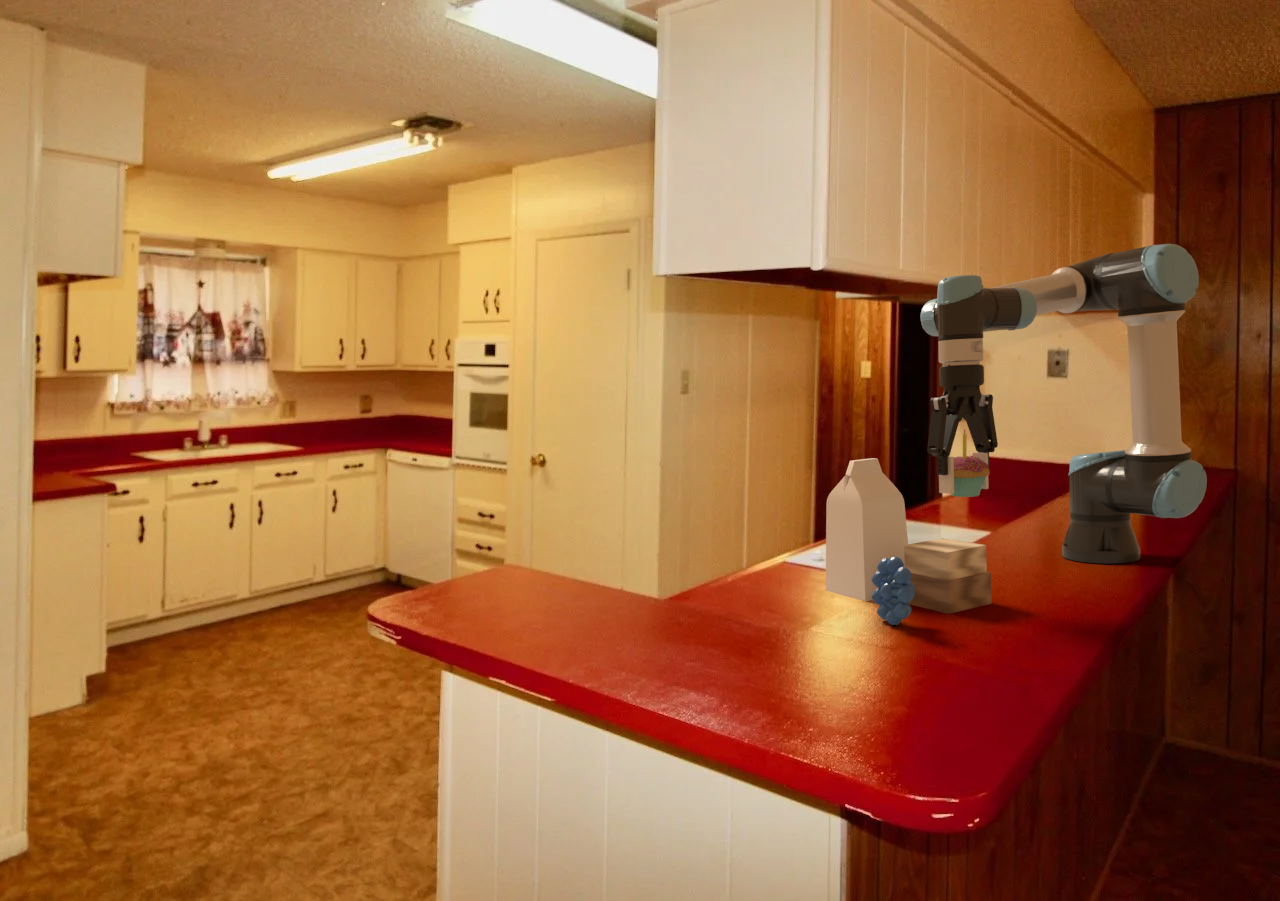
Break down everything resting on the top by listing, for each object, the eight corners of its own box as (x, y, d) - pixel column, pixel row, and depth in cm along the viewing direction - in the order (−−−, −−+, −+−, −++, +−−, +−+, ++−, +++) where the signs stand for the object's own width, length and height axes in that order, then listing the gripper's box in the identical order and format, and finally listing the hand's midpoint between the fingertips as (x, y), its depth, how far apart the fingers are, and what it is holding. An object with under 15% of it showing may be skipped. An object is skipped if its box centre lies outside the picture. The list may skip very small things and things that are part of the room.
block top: (943, 564, 168) (942, 538, 168) (986, 572, 160) (986, 545, 159) (904, 571, 164) (904, 545, 163) (947, 580, 155) (946, 552, 155)
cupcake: (994, 497, 154) (992, 429, 154) (943, 499, 156) (941, 431, 155) (984, 491, 163) (983, 426, 162) (936, 493, 164) (934, 428, 164)
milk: (865, 601, 167) (860, 463, 165) (825, 590, 177) (820, 460, 175) (912, 591, 172) (908, 458, 170) (871, 581, 182) (867, 455, 180)
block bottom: (943, 594, 170) (943, 563, 169) (991, 605, 160) (990, 572, 160) (901, 603, 165) (900, 571, 164) (948, 615, 155) (947, 581, 154)
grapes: (935, 631, 145) (933, 558, 144) (898, 635, 143) (896, 562, 143) (898, 614, 156) (896, 547, 155) (863, 618, 155) (861, 550, 154)
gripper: (936, 364, 149) (939, 498, 151) (1018, 361, 160) (1020, 486, 161) (902, 366, 156) (906, 494, 157) (983, 363, 166) (986, 483, 168)
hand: (964, 490), depth 159 cm, fingers closed on cupcake, 8 cm apart
